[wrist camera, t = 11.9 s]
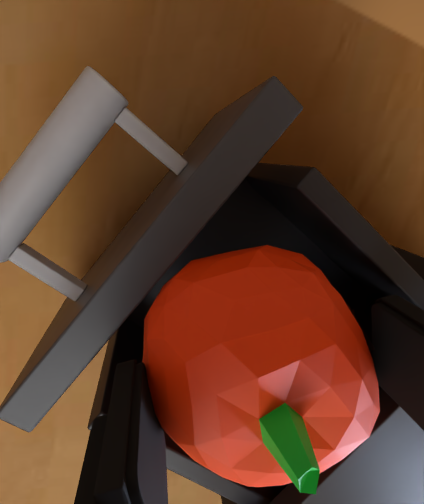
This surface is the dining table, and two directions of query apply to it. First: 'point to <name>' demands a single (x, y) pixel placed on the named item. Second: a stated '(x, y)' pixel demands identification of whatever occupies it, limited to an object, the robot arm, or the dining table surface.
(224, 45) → the dining table surface
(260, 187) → the drawer
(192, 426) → the pumpkin
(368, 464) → the cabinet
